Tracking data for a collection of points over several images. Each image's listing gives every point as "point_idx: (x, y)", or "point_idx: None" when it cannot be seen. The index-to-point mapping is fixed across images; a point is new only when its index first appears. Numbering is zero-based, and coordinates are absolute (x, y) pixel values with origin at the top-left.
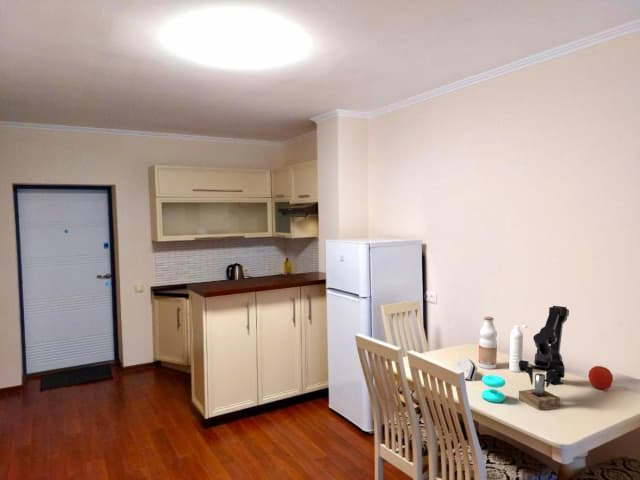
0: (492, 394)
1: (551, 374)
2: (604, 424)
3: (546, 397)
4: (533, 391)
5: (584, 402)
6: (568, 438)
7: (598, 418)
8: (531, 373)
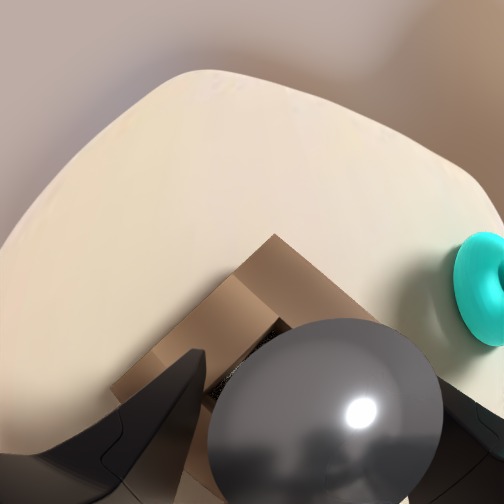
0: (497, 240)
1: (44, 467)
2: (12, 243)
3: (216, 351)
4: None
5: None
6: (165, 89)
7: (8, 295)
8: (485, 437)
